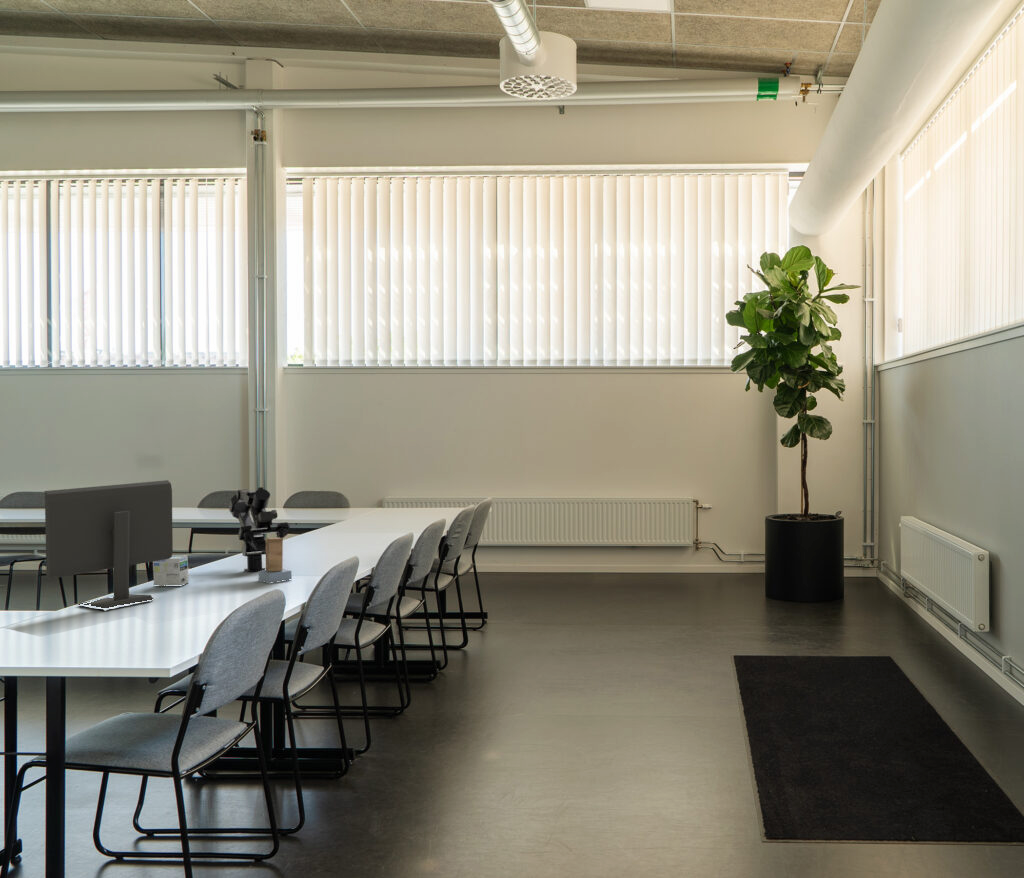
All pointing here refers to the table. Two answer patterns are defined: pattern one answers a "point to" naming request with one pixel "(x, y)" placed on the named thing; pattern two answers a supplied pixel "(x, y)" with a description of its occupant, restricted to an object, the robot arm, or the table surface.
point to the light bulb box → (171, 571)
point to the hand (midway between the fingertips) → (269, 548)
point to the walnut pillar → (274, 554)
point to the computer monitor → (108, 532)
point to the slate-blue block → (274, 575)
